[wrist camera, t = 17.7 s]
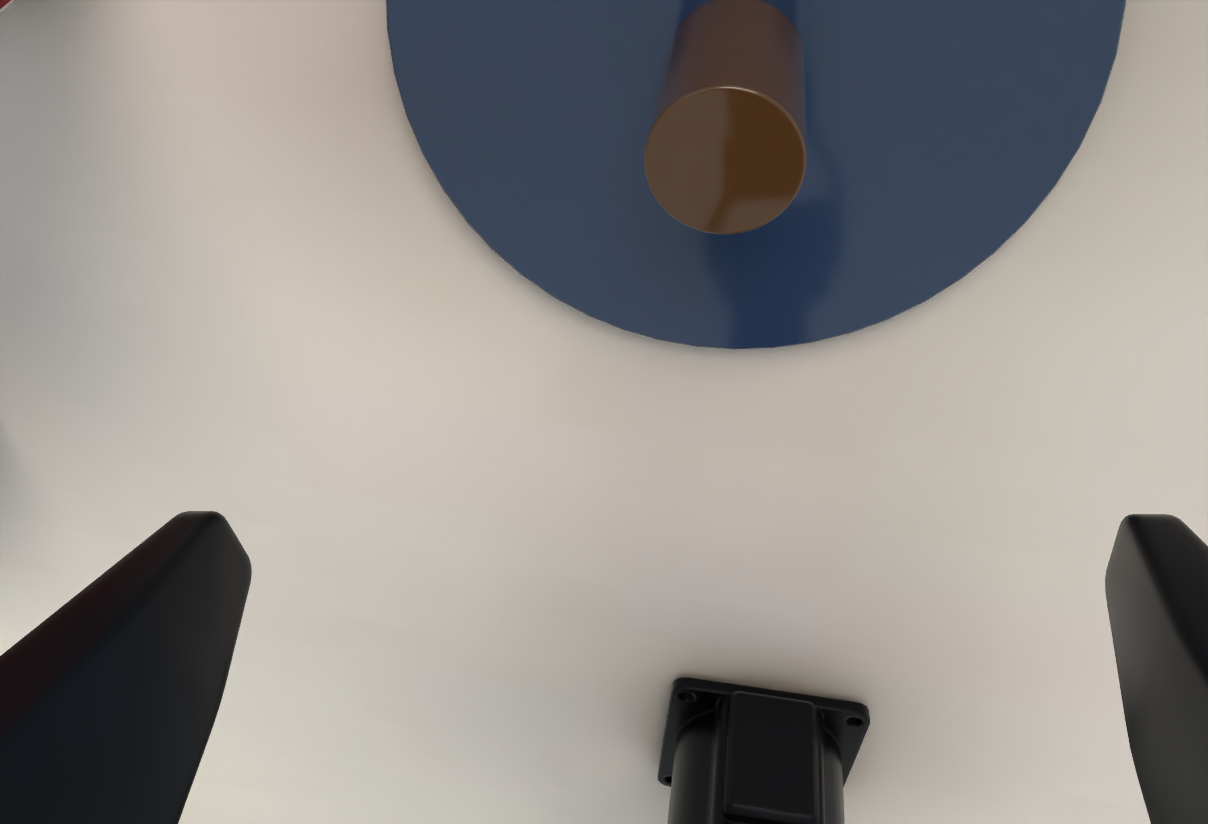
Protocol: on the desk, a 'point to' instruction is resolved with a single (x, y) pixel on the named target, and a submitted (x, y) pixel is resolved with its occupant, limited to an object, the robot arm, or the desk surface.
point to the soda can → (5, 4)
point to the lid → (749, 147)
